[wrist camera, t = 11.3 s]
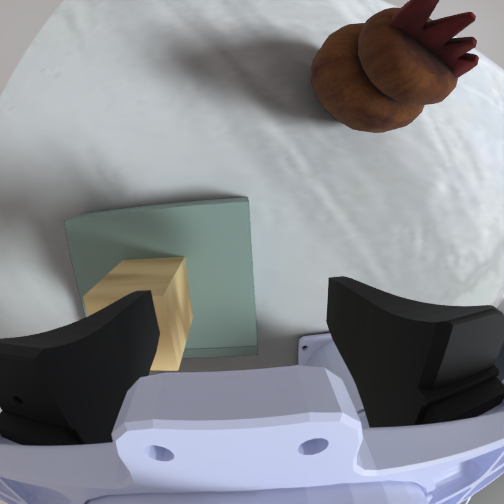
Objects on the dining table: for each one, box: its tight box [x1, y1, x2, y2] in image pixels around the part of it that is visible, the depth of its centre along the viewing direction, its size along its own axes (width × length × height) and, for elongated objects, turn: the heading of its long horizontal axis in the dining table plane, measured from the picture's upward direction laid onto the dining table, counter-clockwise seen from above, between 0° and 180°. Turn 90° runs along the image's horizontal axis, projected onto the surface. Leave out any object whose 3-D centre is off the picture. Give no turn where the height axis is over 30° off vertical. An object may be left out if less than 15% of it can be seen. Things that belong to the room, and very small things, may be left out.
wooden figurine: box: [311, 0, 479, 133], centre depth 12 cm, size 7×6×15 cm
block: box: [83, 257, 193, 371], centre depth 17 cm, size 4×4×6 cm
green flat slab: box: [64, 197, 258, 358], centre depth 21 cm, size 11×13×3 cm
